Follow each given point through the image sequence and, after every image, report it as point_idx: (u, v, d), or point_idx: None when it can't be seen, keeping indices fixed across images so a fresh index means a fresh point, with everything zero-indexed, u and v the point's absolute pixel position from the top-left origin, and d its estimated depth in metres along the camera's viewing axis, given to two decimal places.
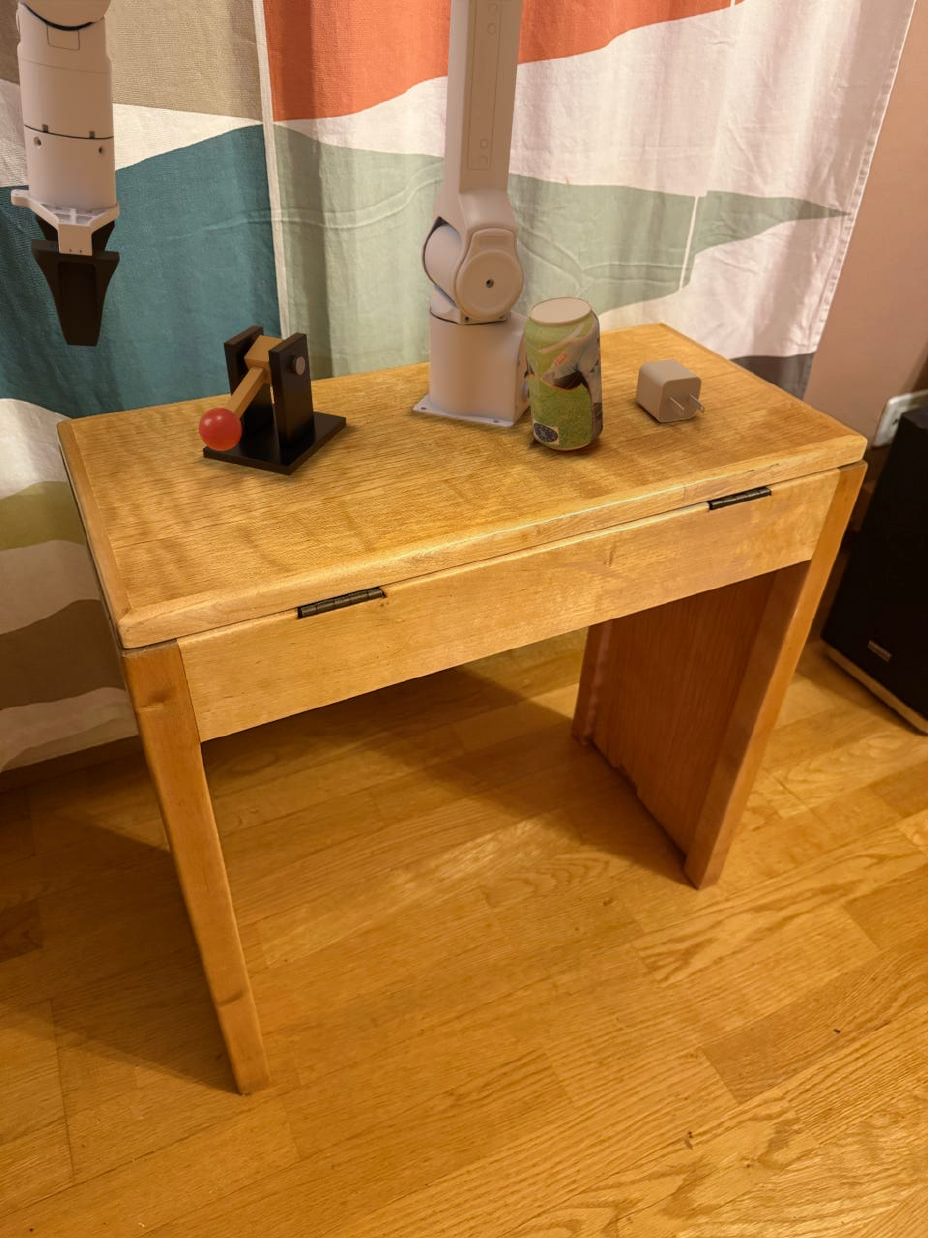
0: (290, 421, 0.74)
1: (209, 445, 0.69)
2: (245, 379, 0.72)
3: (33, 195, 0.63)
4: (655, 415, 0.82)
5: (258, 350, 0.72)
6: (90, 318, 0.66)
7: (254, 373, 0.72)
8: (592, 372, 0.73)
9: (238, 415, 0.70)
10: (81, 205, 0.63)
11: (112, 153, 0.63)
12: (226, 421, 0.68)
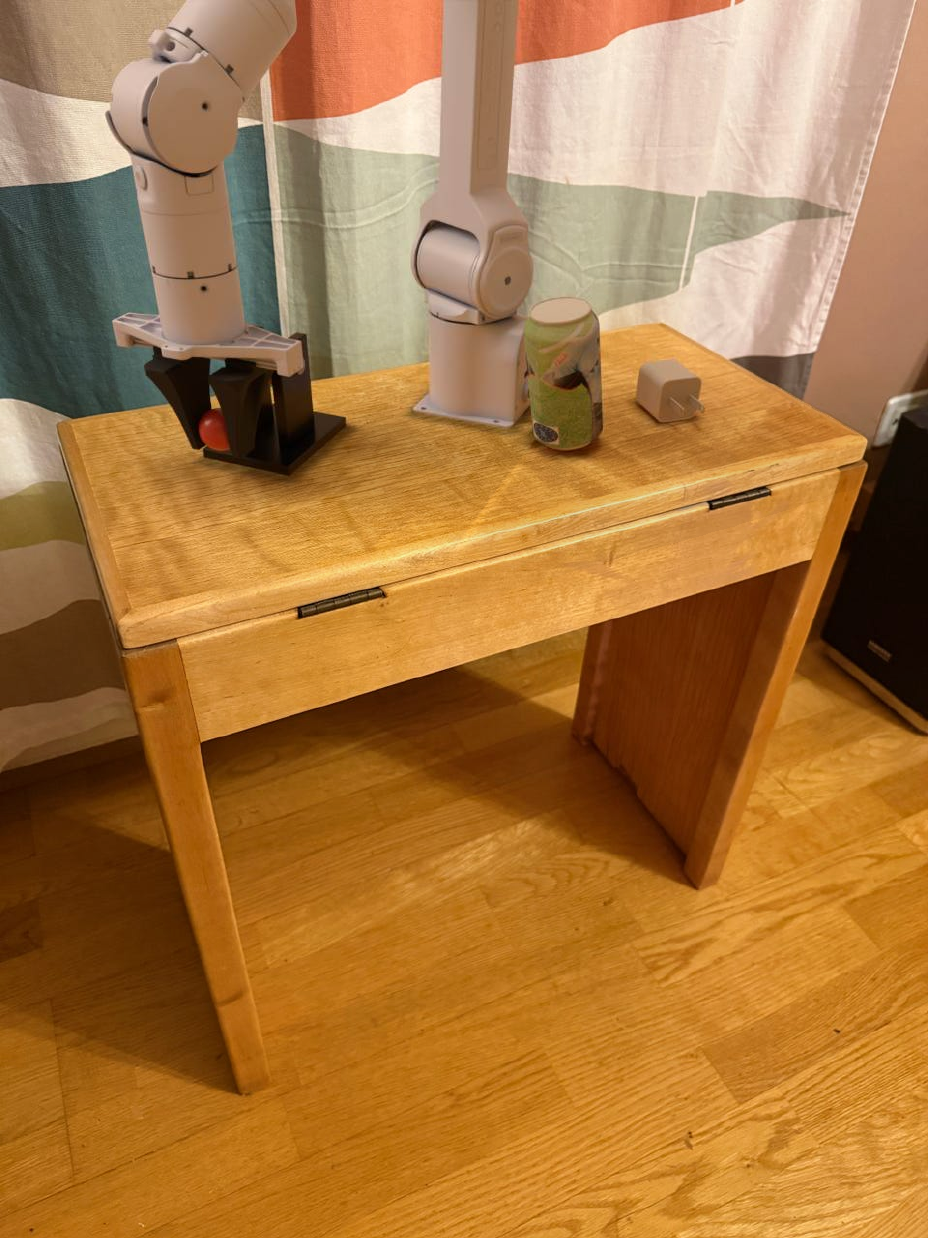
0: (290, 421, 0.74)
1: (209, 445, 0.69)
2: None
3: (198, 342, 0.62)
4: (655, 415, 0.82)
5: None
6: (251, 424, 0.69)
7: None
8: (592, 372, 0.73)
9: None
10: (241, 330, 0.64)
11: None
12: None
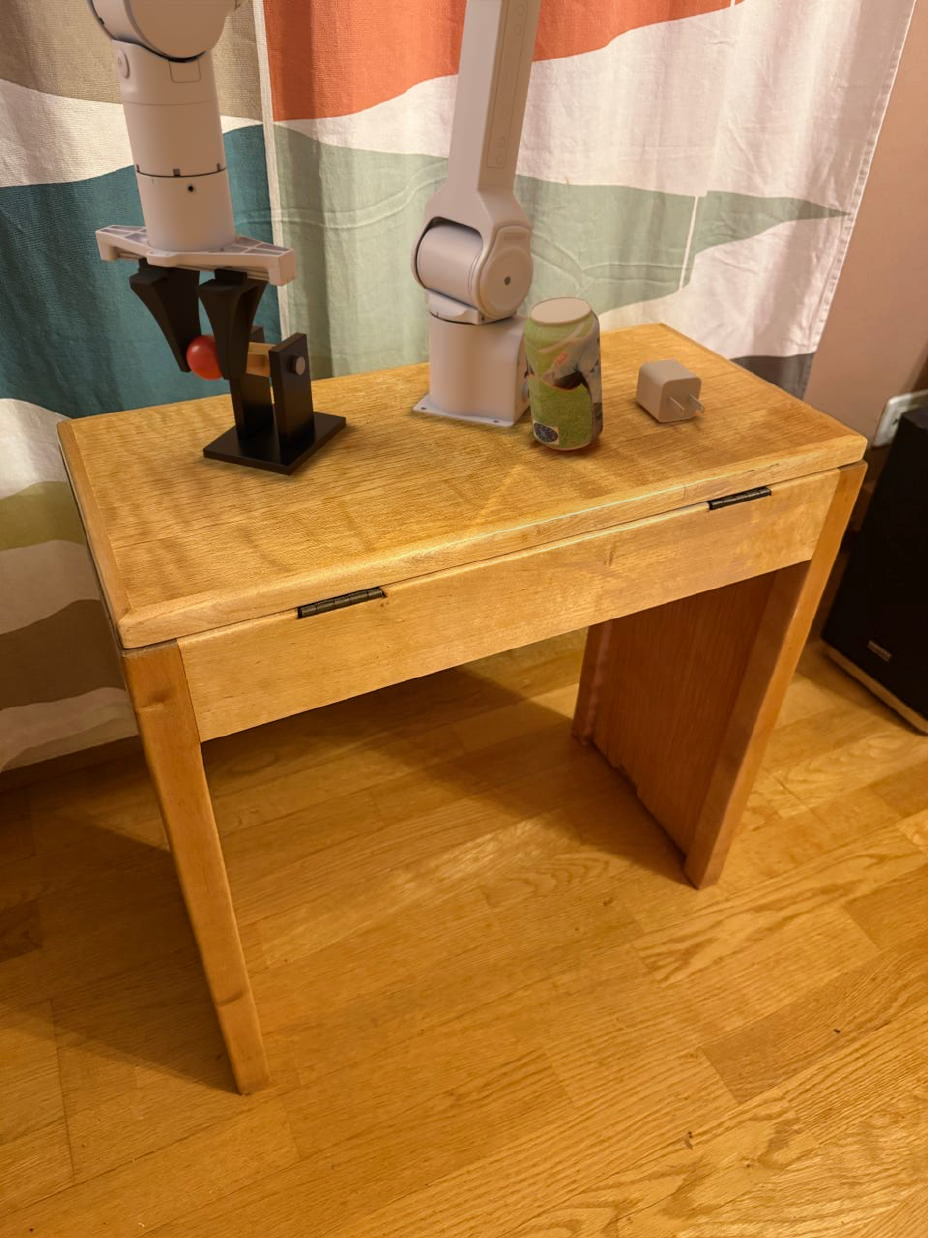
0: (290, 421, 0.74)
1: (194, 359, 0.65)
2: None
3: (185, 248, 0.59)
4: (655, 415, 0.82)
5: None
6: (243, 344, 0.65)
7: (254, 352, 0.71)
8: (592, 372, 0.73)
9: None
10: (232, 239, 0.61)
11: None
12: None
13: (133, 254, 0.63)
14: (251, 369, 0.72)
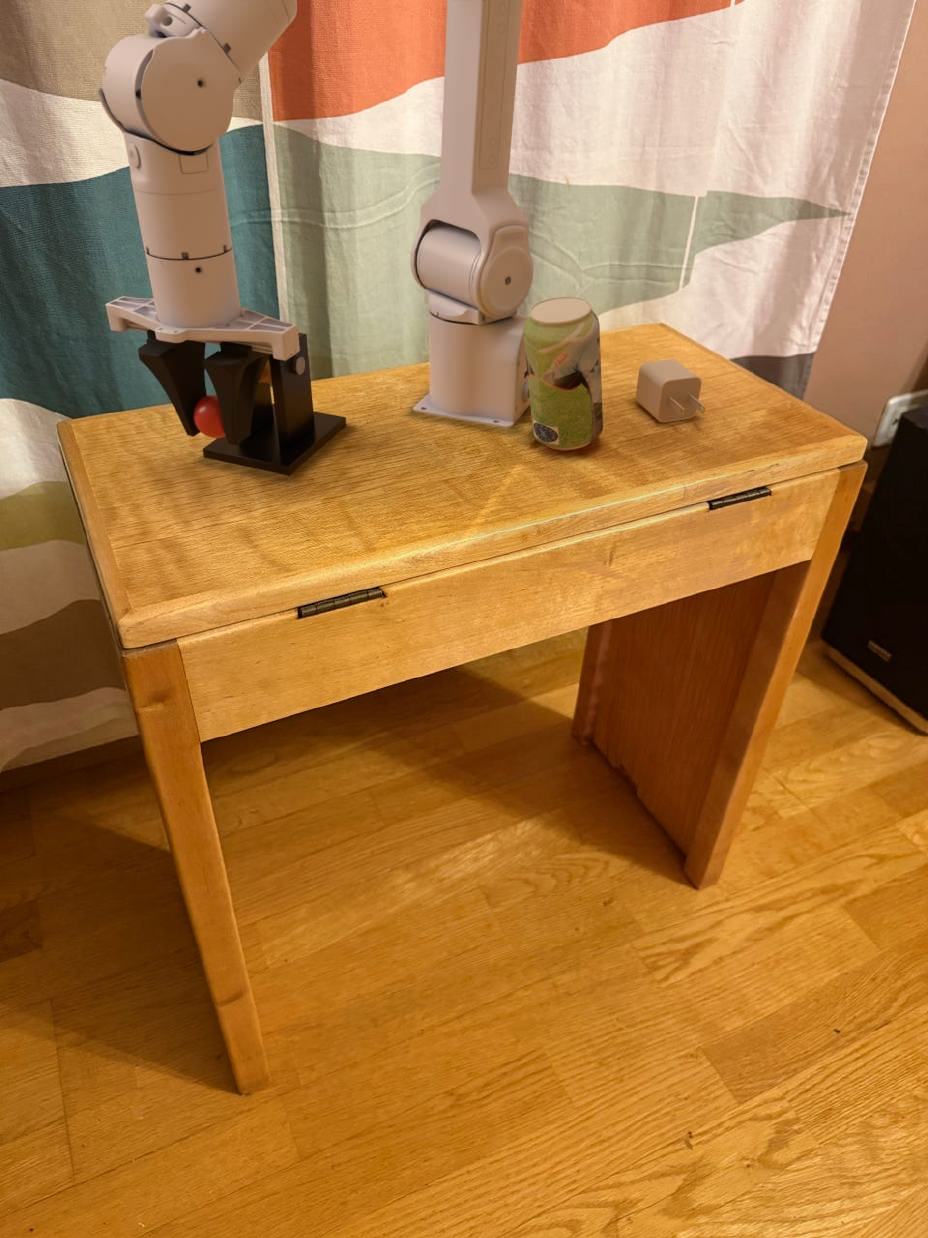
0: (290, 421, 0.74)
1: (203, 430, 0.68)
2: None
3: (193, 325, 0.61)
4: (655, 415, 0.82)
5: None
6: (247, 410, 0.68)
7: None
8: (592, 372, 0.73)
9: None
10: (237, 314, 0.63)
11: None
12: None
13: (142, 325, 0.66)
14: None
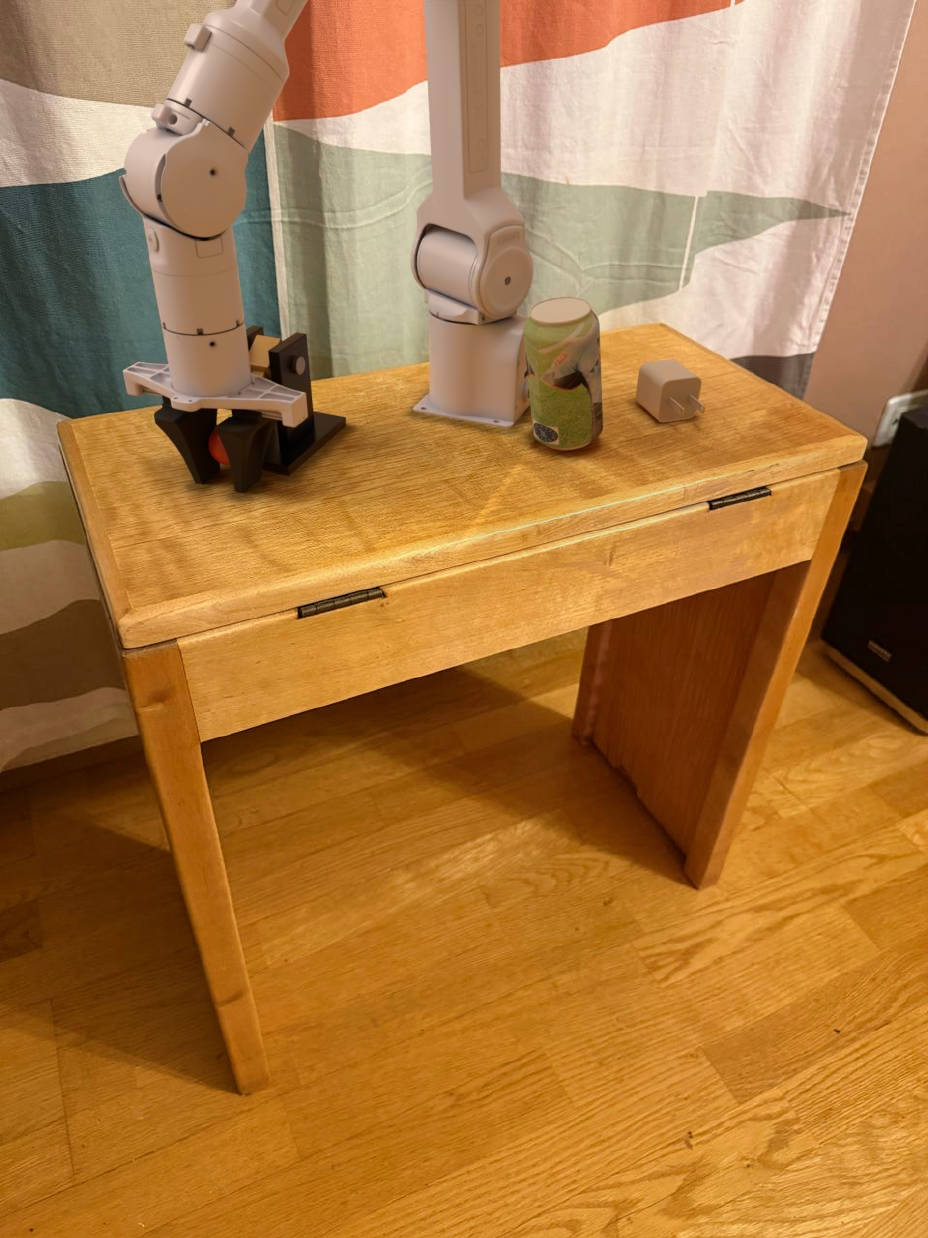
0: None
1: (221, 462, 0.71)
2: None
3: (206, 394, 0.65)
4: (655, 415, 0.82)
5: (257, 353, 0.72)
6: (256, 469, 0.71)
7: None
8: (592, 372, 0.73)
9: None
10: (248, 382, 0.66)
11: None
12: None
13: None
14: None
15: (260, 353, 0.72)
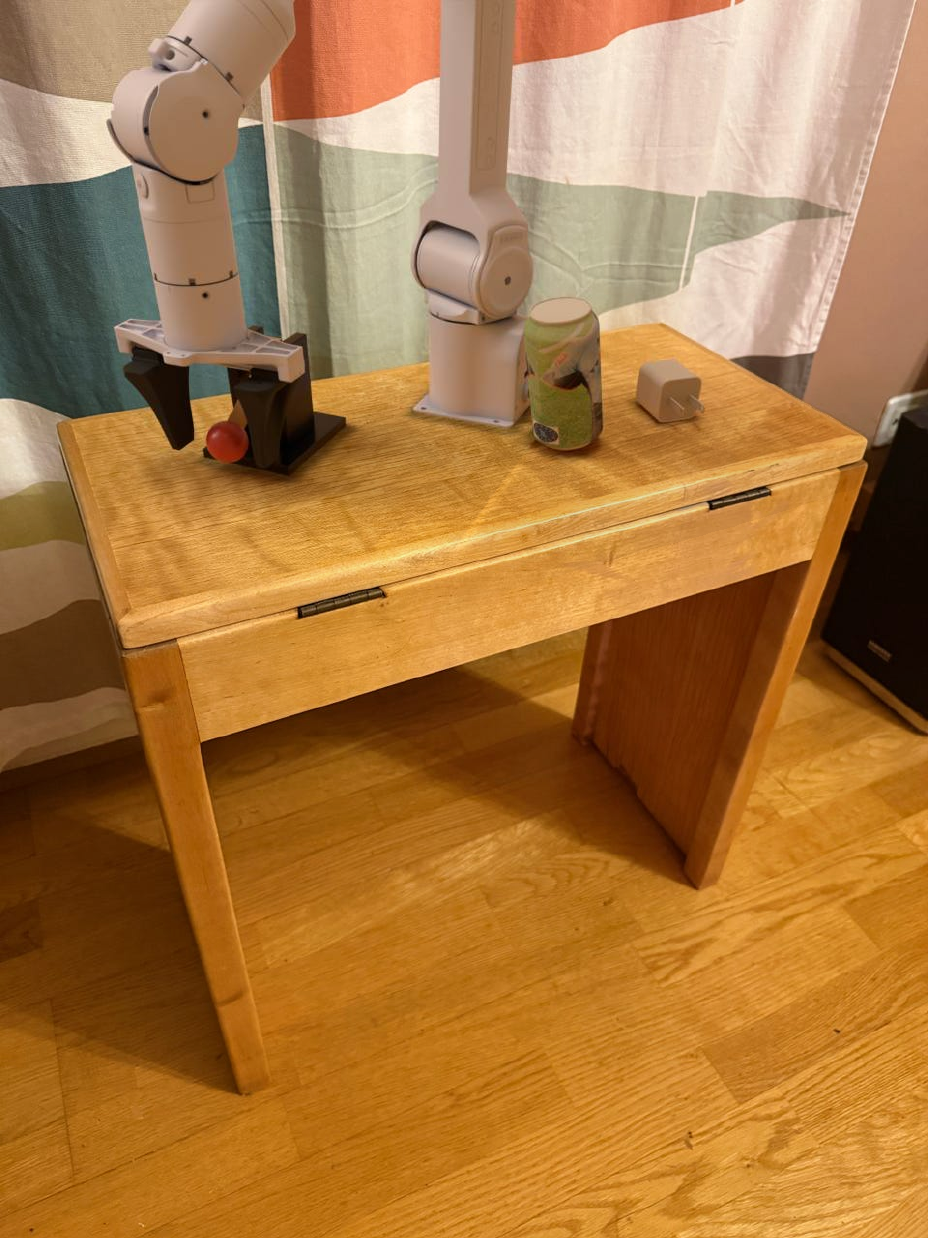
0: (290, 421, 0.74)
1: (218, 459, 0.70)
2: None
3: (200, 348, 0.63)
4: (655, 415, 0.82)
5: None
6: (275, 434, 0.69)
7: None
8: (592, 372, 0.73)
9: (243, 424, 0.71)
10: (243, 336, 0.65)
11: None
12: (232, 436, 0.69)
13: None
14: None
15: None
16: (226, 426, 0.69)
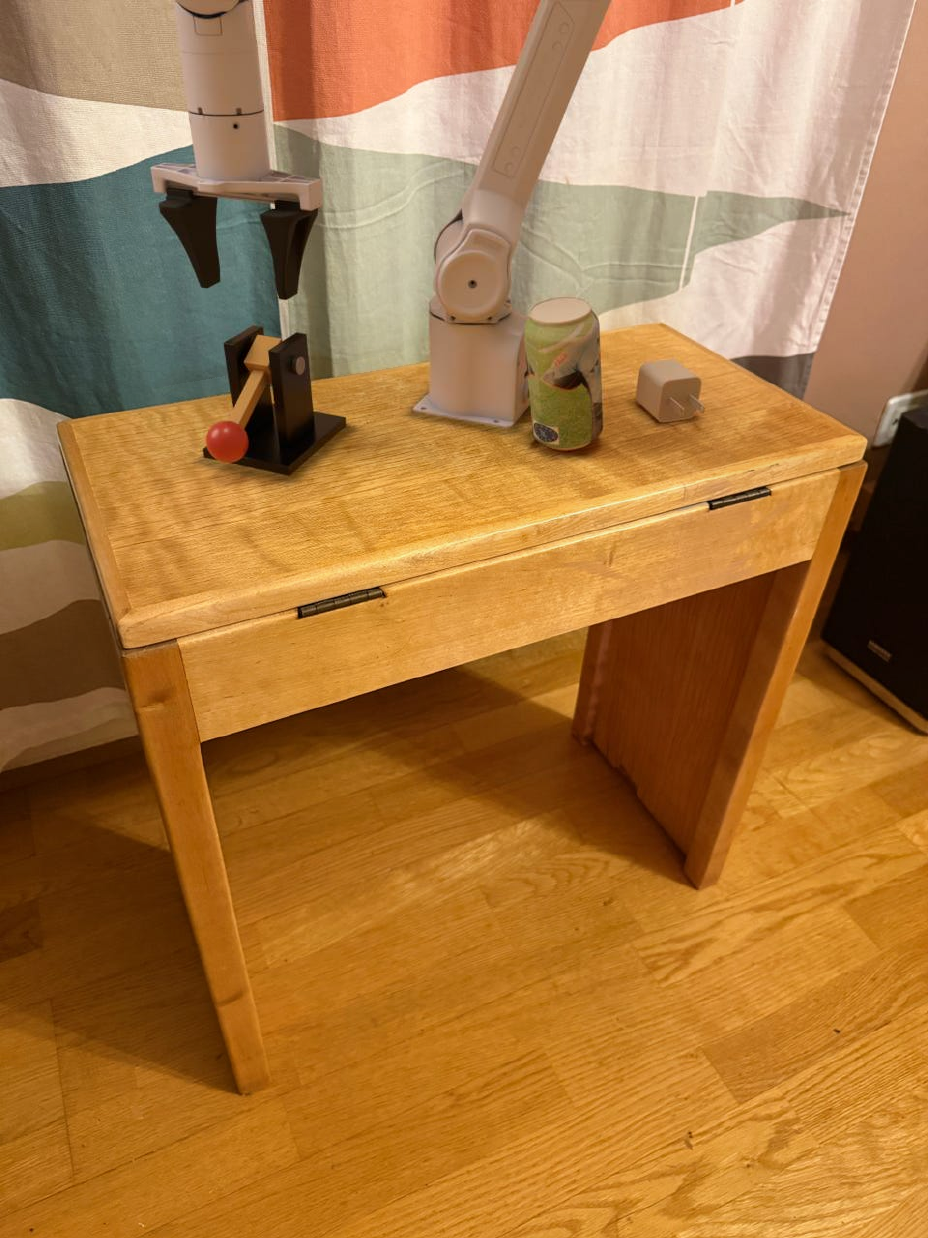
0: (290, 421, 0.74)
1: (218, 459, 0.70)
2: (247, 385, 0.72)
3: (230, 178, 0.70)
4: (655, 415, 0.82)
5: (257, 353, 0.72)
6: (295, 268, 0.76)
7: (255, 377, 0.72)
8: (592, 372, 0.73)
9: (243, 424, 0.71)
10: (267, 172, 0.72)
11: None
12: (232, 436, 0.69)
13: (182, 187, 0.74)
14: None
15: (260, 352, 0.72)
16: (226, 426, 0.69)
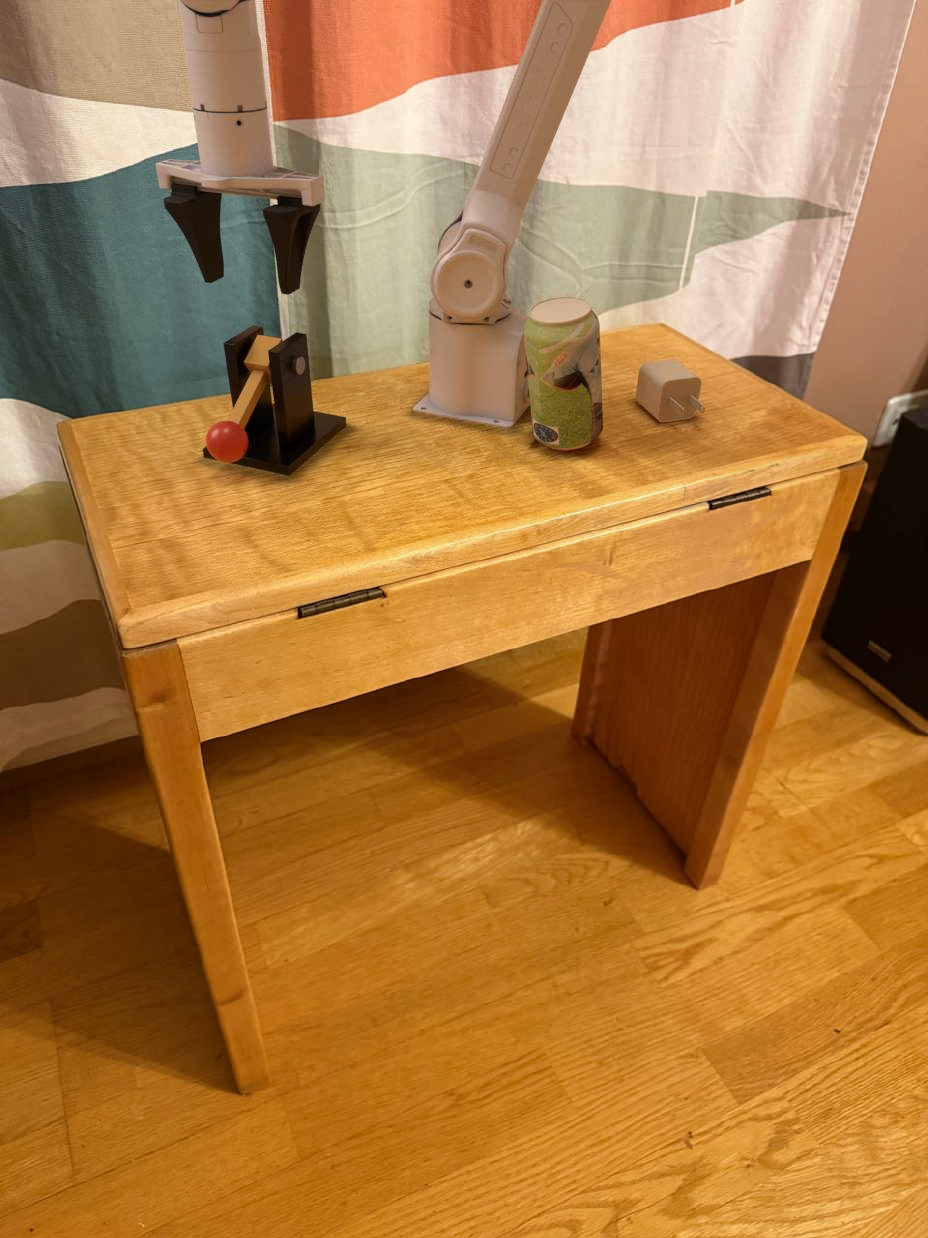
0: (290, 421, 0.74)
1: (218, 459, 0.70)
2: (247, 385, 0.72)
3: (233, 174, 0.71)
4: (655, 415, 0.82)
5: (257, 353, 0.72)
6: (297, 263, 0.77)
7: (255, 377, 0.72)
8: (592, 372, 0.73)
9: (243, 424, 0.71)
10: (270, 168, 0.73)
11: None
12: (232, 436, 0.69)
13: (187, 183, 0.76)
14: None
15: (260, 352, 0.72)
16: (226, 426, 0.69)
